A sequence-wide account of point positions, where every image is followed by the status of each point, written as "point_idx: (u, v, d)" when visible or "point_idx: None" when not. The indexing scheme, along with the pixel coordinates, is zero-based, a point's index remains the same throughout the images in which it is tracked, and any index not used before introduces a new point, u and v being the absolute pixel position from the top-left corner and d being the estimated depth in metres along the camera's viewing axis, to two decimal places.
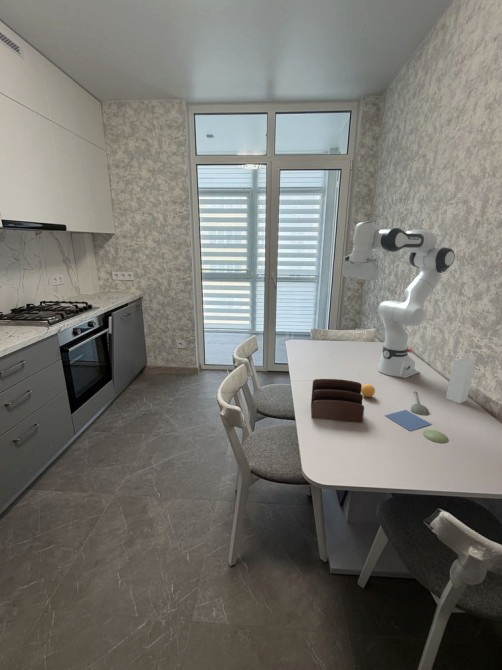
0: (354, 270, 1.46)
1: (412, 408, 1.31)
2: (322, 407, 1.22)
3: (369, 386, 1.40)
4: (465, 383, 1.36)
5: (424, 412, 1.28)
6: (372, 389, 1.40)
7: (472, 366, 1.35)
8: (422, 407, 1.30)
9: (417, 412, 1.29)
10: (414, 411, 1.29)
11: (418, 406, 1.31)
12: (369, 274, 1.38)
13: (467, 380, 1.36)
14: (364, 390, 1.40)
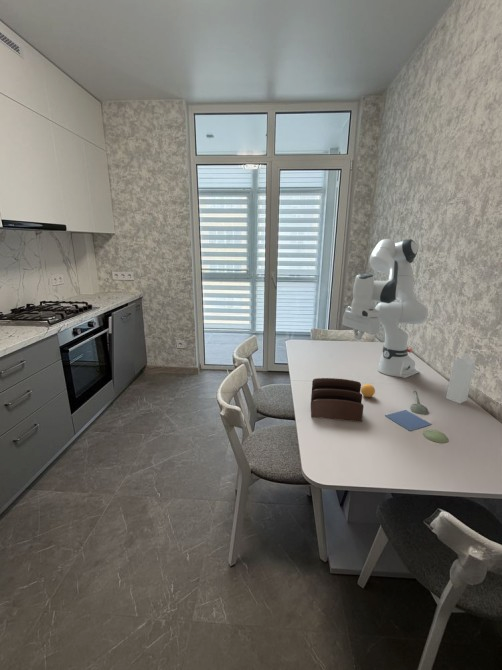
0: None
1: (412, 407, 1.32)
2: (321, 406, 1.23)
3: (369, 386, 1.40)
4: (465, 383, 1.36)
5: (424, 411, 1.29)
6: (372, 389, 1.40)
7: (472, 366, 1.35)
8: (421, 406, 1.31)
9: (416, 411, 1.29)
10: (413, 410, 1.30)
11: (417, 405, 1.31)
12: None
13: (467, 380, 1.36)
14: (364, 390, 1.40)
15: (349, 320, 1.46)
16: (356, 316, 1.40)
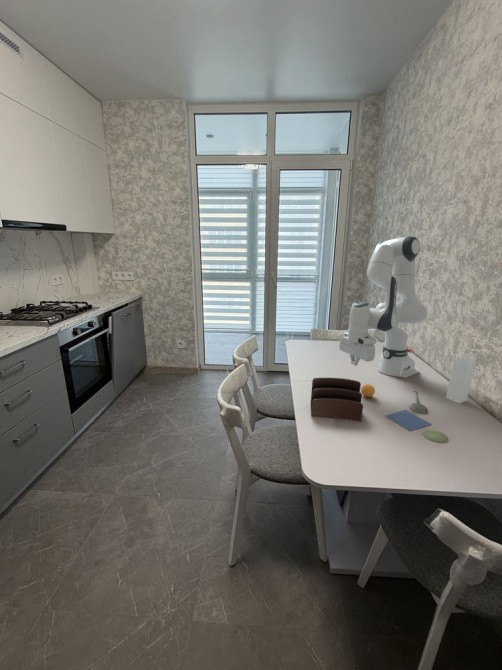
0: None
1: (411, 407, 1.32)
2: (321, 405, 1.24)
3: (369, 386, 1.40)
4: (465, 383, 1.36)
5: (423, 410, 1.29)
6: (372, 389, 1.40)
7: (472, 366, 1.35)
8: (421, 406, 1.31)
9: (416, 411, 1.30)
10: (413, 410, 1.30)
11: (417, 405, 1.32)
12: None
13: (467, 380, 1.36)
14: (364, 390, 1.40)
15: (346, 346, 1.50)
16: (352, 343, 1.44)
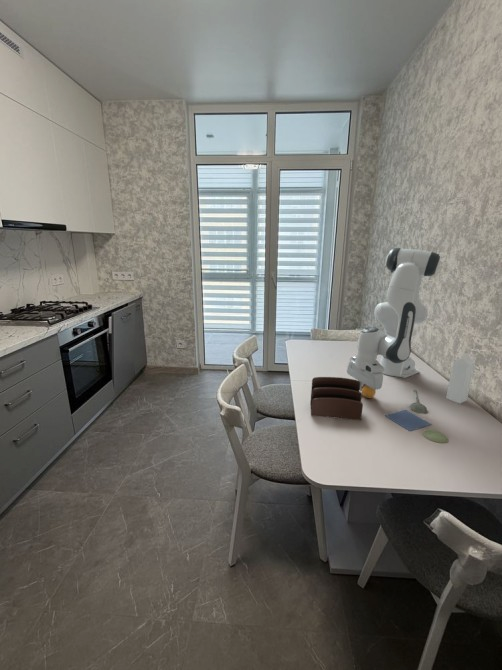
0: None
1: (411, 406, 1.33)
2: (321, 404, 1.24)
3: (370, 388, 1.39)
4: (465, 383, 1.36)
5: (423, 410, 1.30)
6: (373, 391, 1.39)
7: (472, 366, 1.35)
8: (420, 405, 1.31)
9: (415, 410, 1.30)
10: (412, 409, 1.31)
11: (417, 404, 1.32)
12: None
13: (467, 380, 1.36)
14: (365, 392, 1.40)
15: (354, 371, 1.46)
16: (360, 369, 1.40)
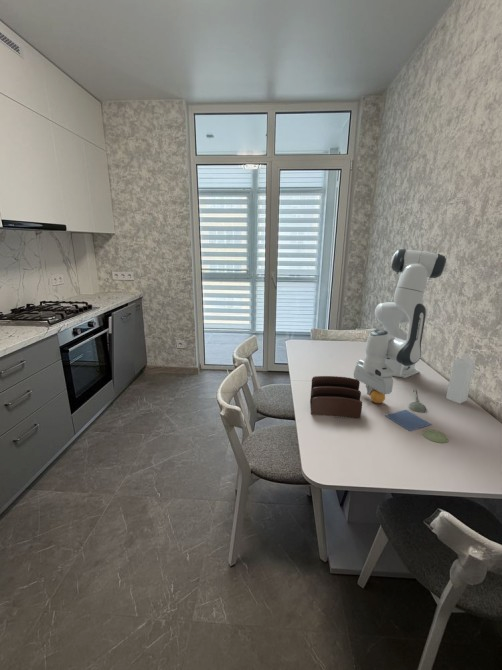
0: None
1: (410, 405, 1.33)
2: (321, 403, 1.25)
3: (380, 393, 1.35)
4: (465, 383, 1.36)
5: (422, 409, 1.30)
6: (383, 396, 1.34)
7: (472, 366, 1.35)
8: (420, 405, 1.32)
9: (415, 409, 1.31)
10: (412, 408, 1.32)
11: (416, 404, 1.33)
12: None
13: (467, 380, 1.36)
14: (375, 397, 1.35)
15: (361, 375, 1.42)
16: (368, 373, 1.36)
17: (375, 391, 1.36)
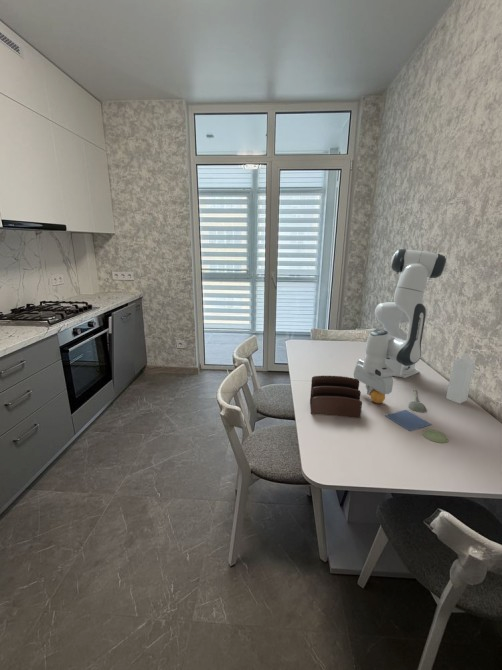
0: None
1: (410, 405, 1.34)
2: (321, 403, 1.26)
3: (380, 393, 1.35)
4: (465, 383, 1.36)
5: (422, 409, 1.30)
6: (383, 396, 1.34)
7: (472, 366, 1.35)
8: (420, 404, 1.32)
9: (414, 409, 1.31)
10: (411, 408, 1.32)
11: (416, 403, 1.33)
12: None
13: (467, 380, 1.36)
14: (375, 397, 1.35)
15: (361, 375, 1.42)
16: (368, 373, 1.36)
17: (375, 391, 1.36)
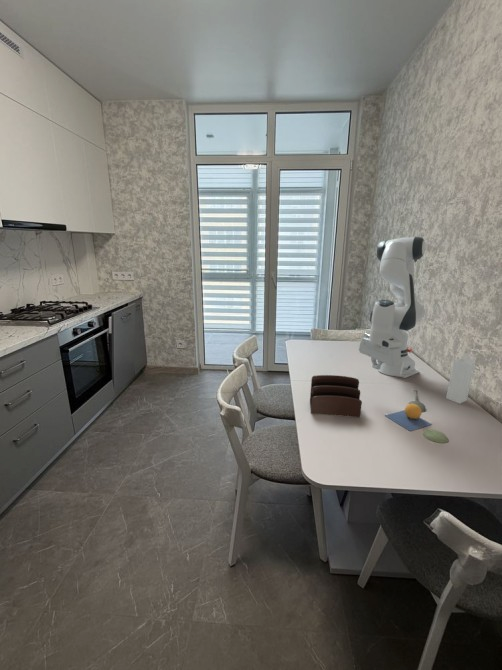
0: None
1: None
2: (321, 402, 1.26)
3: (409, 405, 1.24)
4: (465, 383, 1.36)
5: (421, 408, 1.31)
6: (414, 405, 1.23)
7: (472, 366, 1.35)
8: (419, 404, 1.33)
9: None
10: None
11: (415, 403, 1.33)
12: None
13: (467, 380, 1.36)
14: (408, 411, 1.23)
15: (367, 348, 1.38)
16: (375, 345, 1.31)
17: (405, 408, 1.26)
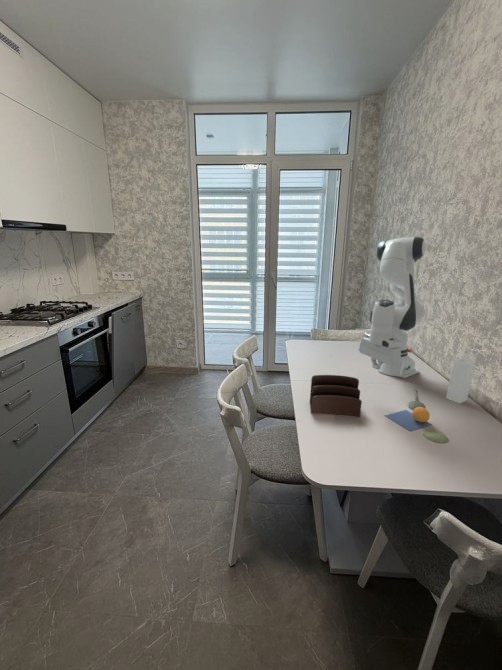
0: None
1: (409, 404, 1.34)
2: (321, 402, 1.26)
3: (424, 411, 1.20)
4: (465, 383, 1.36)
5: None
6: (427, 415, 1.20)
7: (472, 366, 1.35)
8: (419, 404, 1.33)
9: (414, 408, 1.32)
10: (411, 407, 1.32)
11: (415, 402, 1.34)
12: None
13: (467, 380, 1.36)
14: (418, 416, 1.20)
15: (367, 348, 1.38)
16: (375, 345, 1.31)
17: (418, 409, 1.21)
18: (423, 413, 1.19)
